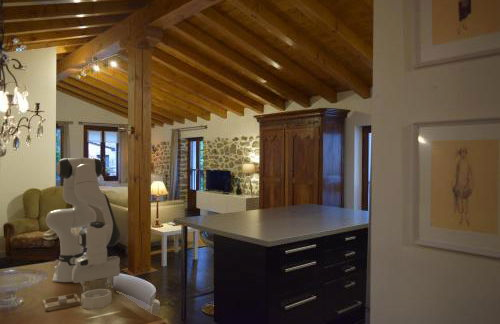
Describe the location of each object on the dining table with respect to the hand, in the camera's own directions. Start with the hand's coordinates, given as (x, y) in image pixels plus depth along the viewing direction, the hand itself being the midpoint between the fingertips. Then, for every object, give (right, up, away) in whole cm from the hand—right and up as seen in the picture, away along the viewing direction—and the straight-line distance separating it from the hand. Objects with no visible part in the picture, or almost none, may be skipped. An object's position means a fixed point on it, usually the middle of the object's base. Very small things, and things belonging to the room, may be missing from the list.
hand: (96, 288), depth 168 cm
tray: (-16, -7, -1) cm, 17 cm away
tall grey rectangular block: (0, -6, -1) cm, 6 cm away
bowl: (0, -7, 0) cm, 7 cm away
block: (-14, -7, -3) cm, 16 cm away
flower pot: (-4, -8, +13) cm, 15 cm away
